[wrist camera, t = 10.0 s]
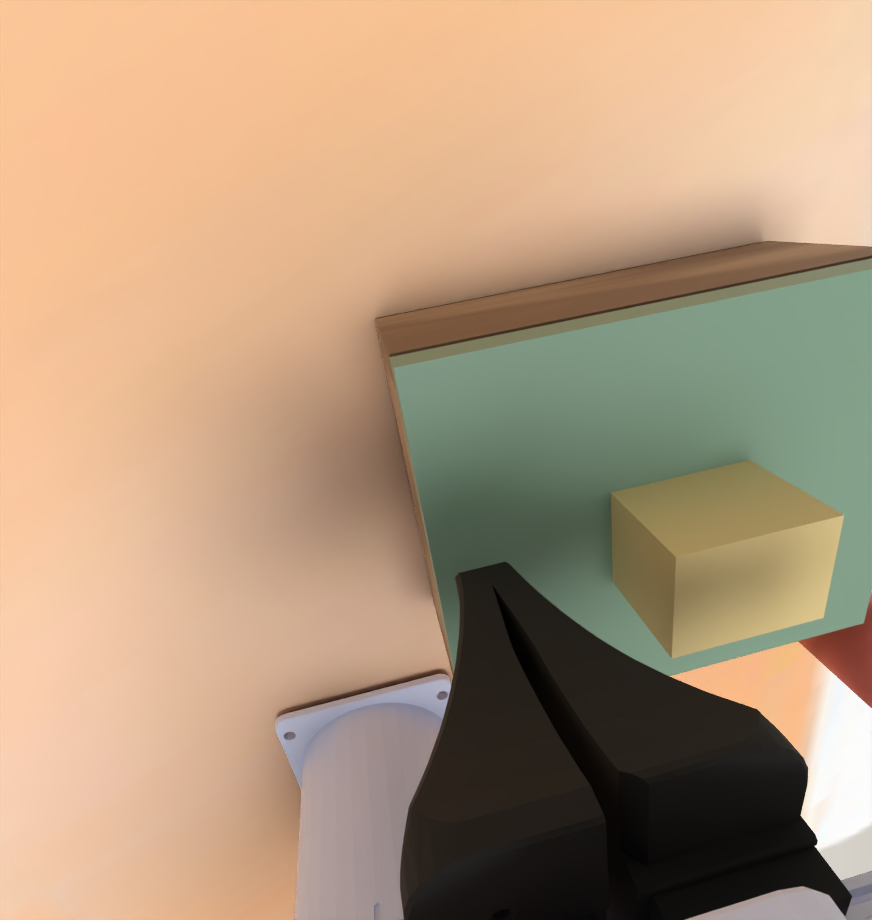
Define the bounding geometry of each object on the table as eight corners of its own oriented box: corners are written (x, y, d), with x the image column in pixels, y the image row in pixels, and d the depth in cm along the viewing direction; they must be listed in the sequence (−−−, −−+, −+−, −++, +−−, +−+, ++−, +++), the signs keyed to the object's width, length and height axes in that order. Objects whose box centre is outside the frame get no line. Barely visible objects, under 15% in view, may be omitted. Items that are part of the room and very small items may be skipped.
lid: (839, 603, 19) (955, 693, 16) (460, 705, 18) (492, 827, 14) (915, 249, 14) (1118, 260, 10) (389, 357, 13) (411, 411, 9)
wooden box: (738, 527, 24) (832, 598, 19) (433, 602, 23) (458, 697, 18) (768, 241, 19) (905, 248, 14) (374, 319, 17) (389, 354, 13)
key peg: (816, 601, 27) (993, 740, 20) (750, 618, 27) (905, 767, 19) (828, 542, 25) (1024, 670, 18) (758, 559, 25) (930, 697, 18)
